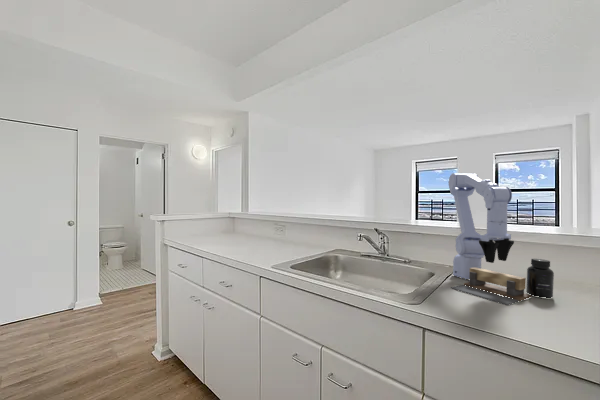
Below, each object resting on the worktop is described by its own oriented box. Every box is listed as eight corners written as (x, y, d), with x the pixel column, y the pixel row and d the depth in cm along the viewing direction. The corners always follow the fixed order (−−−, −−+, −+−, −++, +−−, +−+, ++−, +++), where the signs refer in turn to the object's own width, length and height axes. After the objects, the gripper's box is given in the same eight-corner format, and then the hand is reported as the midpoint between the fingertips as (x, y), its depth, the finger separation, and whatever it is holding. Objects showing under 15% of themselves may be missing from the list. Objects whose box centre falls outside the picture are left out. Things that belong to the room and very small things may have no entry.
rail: (469, 277, 104) (469, 268, 104) (475, 276, 106) (475, 267, 106) (519, 290, 90) (519, 279, 90) (525, 288, 91) (525, 278, 91)
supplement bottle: (543, 300, 90) (543, 262, 90) (521, 293, 96) (521, 258, 96) (558, 298, 92) (559, 261, 92) (536, 292, 98) (536, 257, 98)
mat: (450, 288, 100) (450, 287, 100) (462, 285, 104) (462, 284, 104) (507, 305, 85) (507, 304, 85) (519, 301, 88) (519, 300, 88)
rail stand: (463, 285, 104) (463, 270, 104) (474, 283, 107) (475, 268, 107) (520, 301, 88) (520, 283, 88) (531, 298, 91) (531, 281, 91)
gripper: (497, 223, 91) (497, 265, 91) (521, 222, 98) (520, 261, 98) (475, 221, 97) (474, 261, 97) (498, 220, 104) (498, 258, 104)
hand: (496, 261), depth 98 cm, fingers open, 7 cm apart
